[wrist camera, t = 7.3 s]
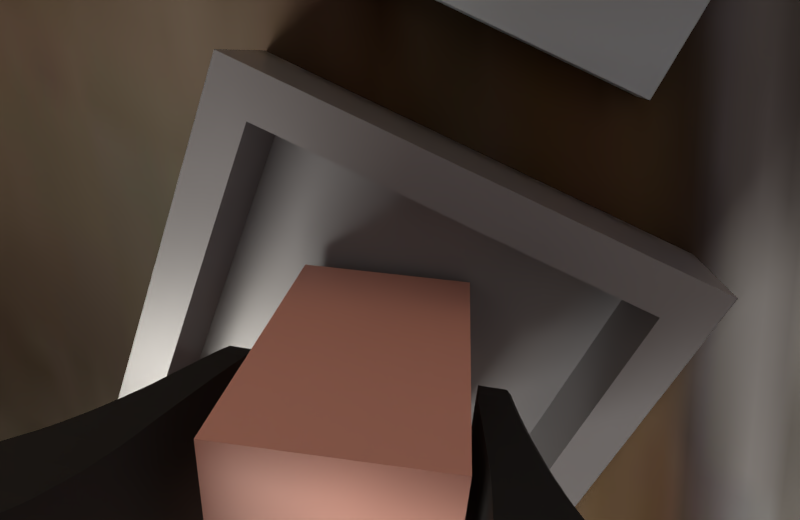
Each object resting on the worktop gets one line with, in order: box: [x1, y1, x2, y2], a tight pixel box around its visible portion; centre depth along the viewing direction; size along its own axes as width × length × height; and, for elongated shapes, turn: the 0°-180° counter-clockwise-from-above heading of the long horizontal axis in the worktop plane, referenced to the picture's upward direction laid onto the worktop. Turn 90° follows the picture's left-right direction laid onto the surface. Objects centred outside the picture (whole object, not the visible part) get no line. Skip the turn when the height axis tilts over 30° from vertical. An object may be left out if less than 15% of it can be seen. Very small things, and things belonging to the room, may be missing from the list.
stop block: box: [194, 265, 472, 520], centre depth 11 cm, size 4×4×6 cm
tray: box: [118, 49, 738, 507], centre depth 14 cm, size 11×11×2 cm
